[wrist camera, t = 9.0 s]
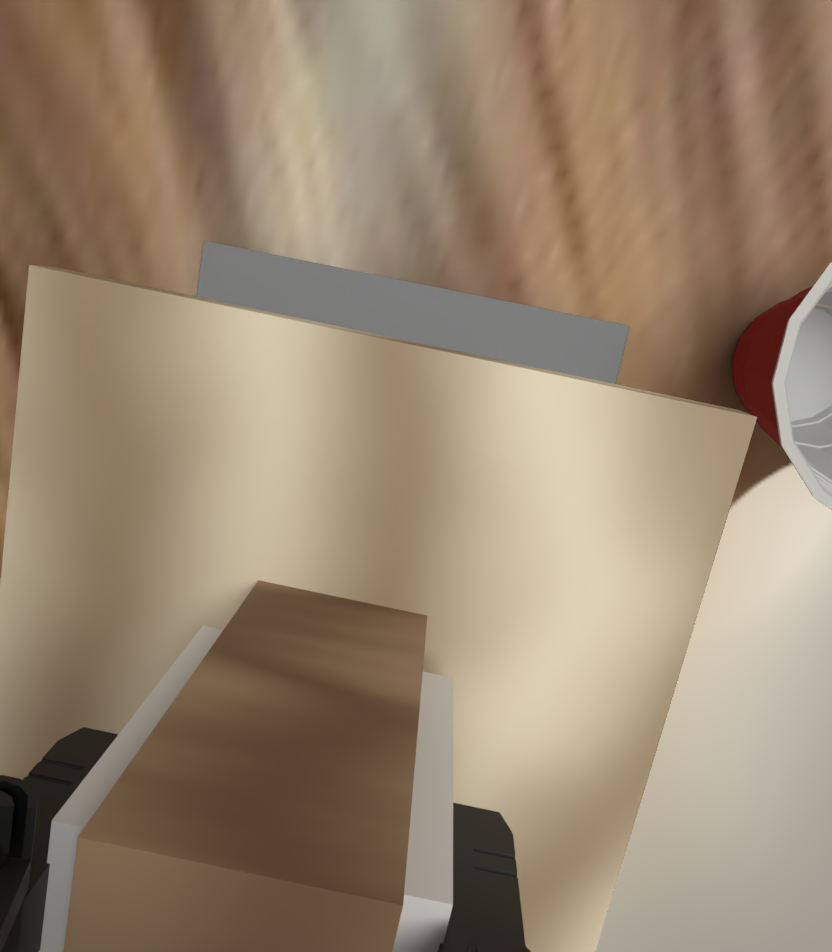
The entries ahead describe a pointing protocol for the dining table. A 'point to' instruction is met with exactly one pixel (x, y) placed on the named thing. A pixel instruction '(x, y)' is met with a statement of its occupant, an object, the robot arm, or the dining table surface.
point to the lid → (339, 608)
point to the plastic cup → (793, 380)
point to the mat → (413, 312)
